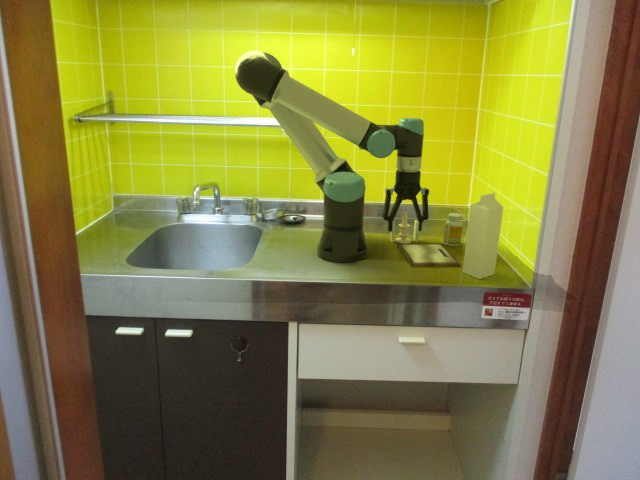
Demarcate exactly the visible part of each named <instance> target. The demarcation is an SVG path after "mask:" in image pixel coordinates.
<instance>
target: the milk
mask: <svg viewBox="0 0 640 480" xmlns="http://www.w3.org/2000/svg"><path fill="white" fill-rule="evenodd" d="M503 212H504V206H503V205H502V204H501V203H500V202H499V201H498V200H497V199H496V192H493V193H486V194H481V195H480V200H479V201H477V202H474V203H472V204H470V205H469V212H468V222H467V230H466V238H465V239H466V241H465V248H464V257H463V266H462V273H463V274H466V275H468V276H470V275H471V276H470V277H473V278H476V279H478V278H479V279H478V280H482V278H483V279H485V278H484V277H486V278H488V277H487V276H489V277H491V275H492V276H494V275H495V273H496V272H495V271H496V266H497V257H498V250H499V243H500V238H501V237H500V236H501V228H502V220H503V214H504V213H503ZM493 274H494V275H493Z"/></svg>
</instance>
